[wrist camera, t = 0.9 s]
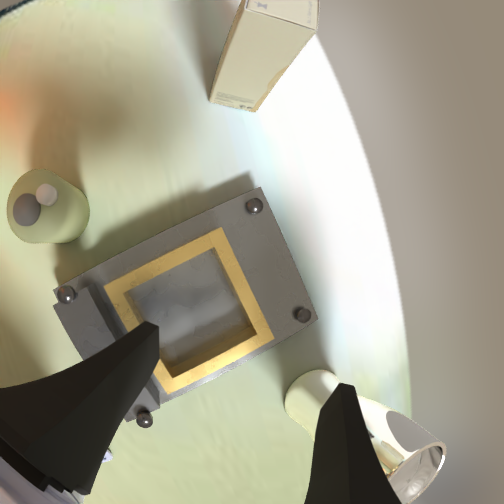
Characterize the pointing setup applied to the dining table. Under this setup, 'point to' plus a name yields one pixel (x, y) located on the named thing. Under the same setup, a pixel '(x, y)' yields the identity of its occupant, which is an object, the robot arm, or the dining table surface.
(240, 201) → the grey metal fixture plate
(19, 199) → the spout can
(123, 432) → the dining table surface
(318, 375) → the beer glass
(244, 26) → the skincare box
